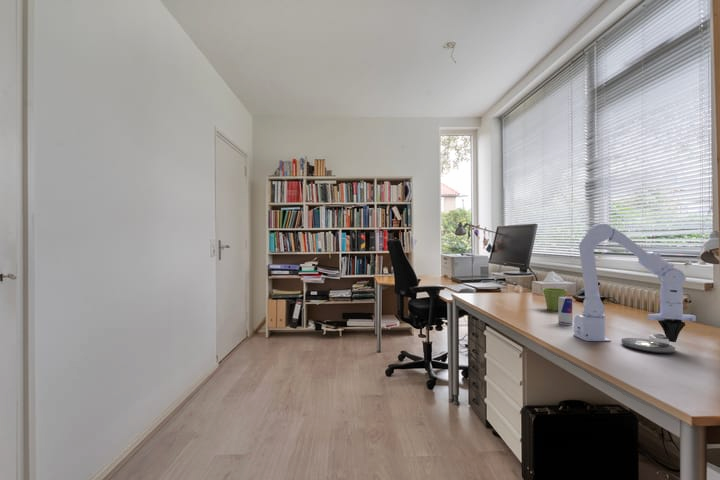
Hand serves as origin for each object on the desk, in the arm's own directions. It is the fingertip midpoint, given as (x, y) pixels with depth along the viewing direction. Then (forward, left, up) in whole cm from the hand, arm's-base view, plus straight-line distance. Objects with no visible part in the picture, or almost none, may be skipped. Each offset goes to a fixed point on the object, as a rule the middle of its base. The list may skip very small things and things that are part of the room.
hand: (671, 341), depth 113 cm
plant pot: (-5, +64, -3) cm, 64 cm away
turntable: (-8, 0, -3) cm, 9 cm away
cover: (-4, 0, -1) cm, 4 cm away
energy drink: (-17, +33, -3) cm, 37 cm away
